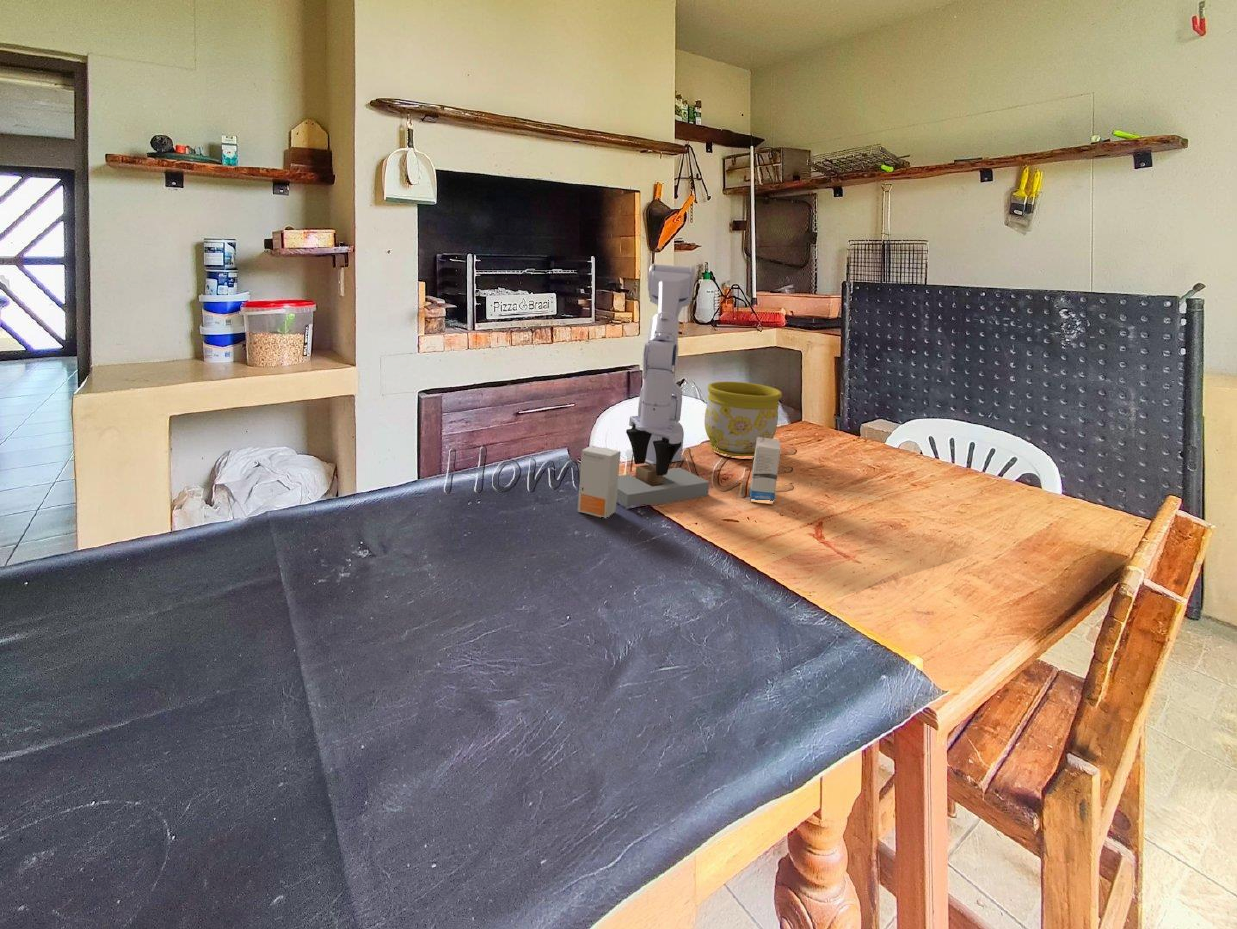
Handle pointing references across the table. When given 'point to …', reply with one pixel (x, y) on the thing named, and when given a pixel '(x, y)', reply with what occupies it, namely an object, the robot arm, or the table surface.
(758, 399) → the flowerpot
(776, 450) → the ink box
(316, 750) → the table surface
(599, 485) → the skincare box
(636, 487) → the notched board
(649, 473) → the block
